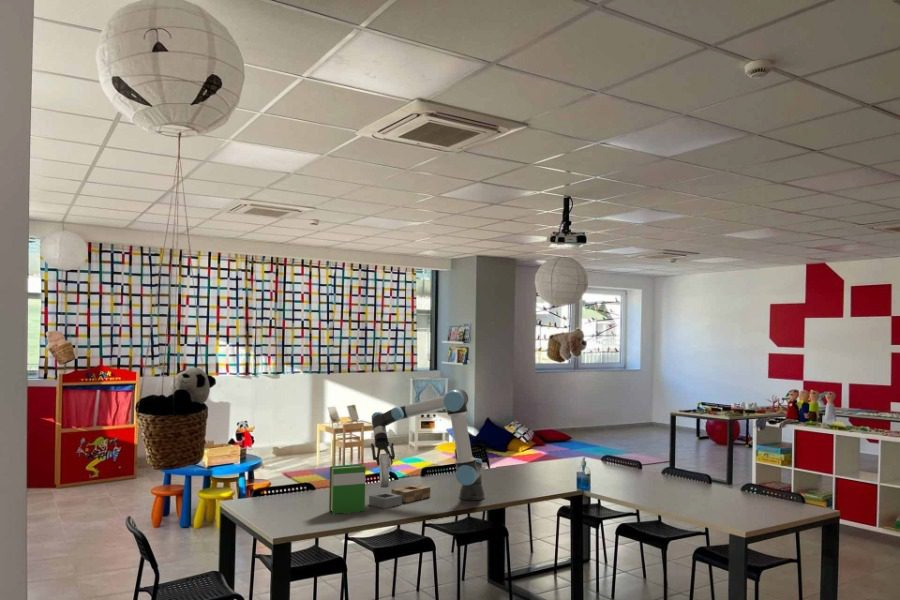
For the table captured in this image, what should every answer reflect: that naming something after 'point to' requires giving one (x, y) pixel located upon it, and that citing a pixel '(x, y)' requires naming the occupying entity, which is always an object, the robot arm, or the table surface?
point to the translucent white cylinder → (384, 471)
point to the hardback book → (347, 489)
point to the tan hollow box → (412, 492)
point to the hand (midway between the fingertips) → (385, 469)
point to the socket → (385, 500)
